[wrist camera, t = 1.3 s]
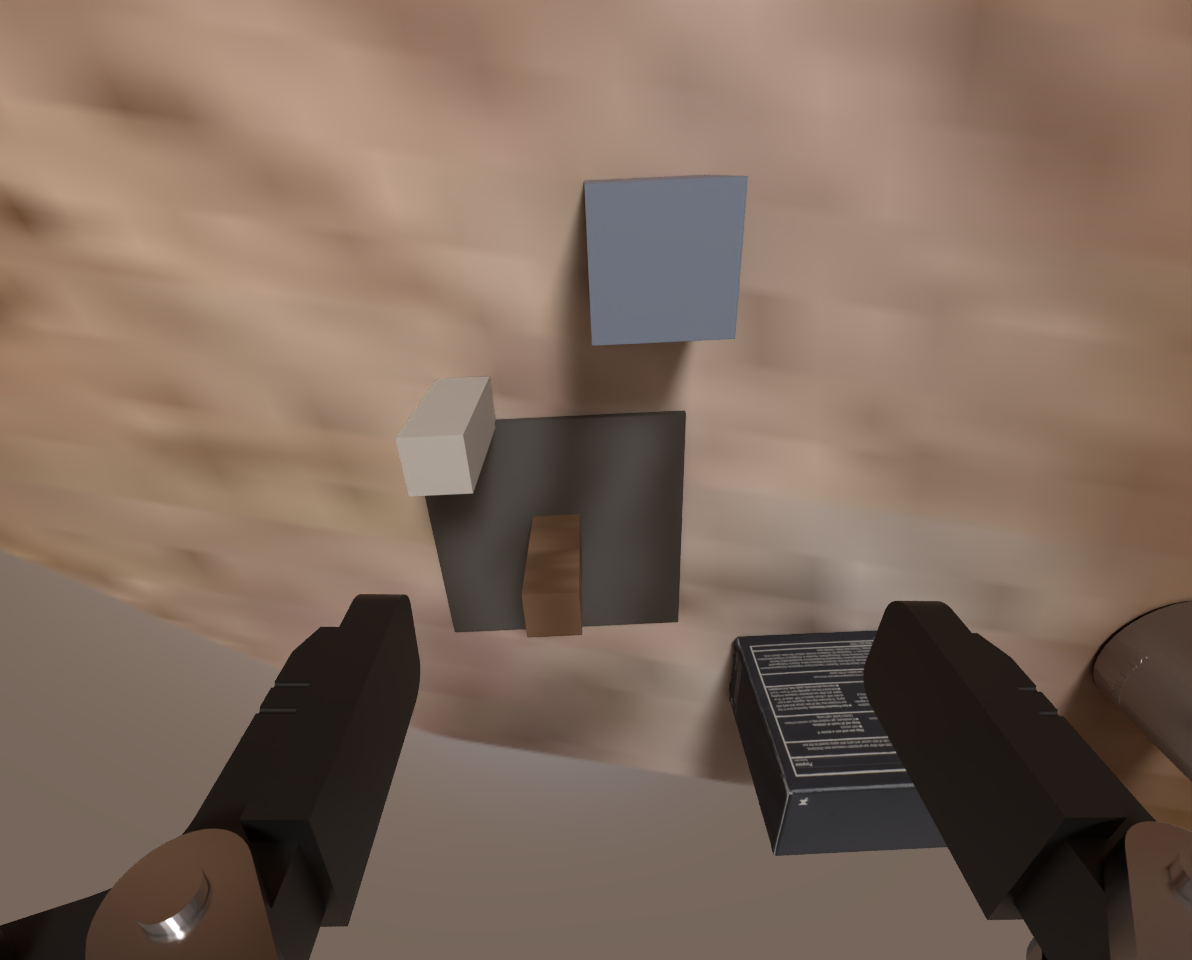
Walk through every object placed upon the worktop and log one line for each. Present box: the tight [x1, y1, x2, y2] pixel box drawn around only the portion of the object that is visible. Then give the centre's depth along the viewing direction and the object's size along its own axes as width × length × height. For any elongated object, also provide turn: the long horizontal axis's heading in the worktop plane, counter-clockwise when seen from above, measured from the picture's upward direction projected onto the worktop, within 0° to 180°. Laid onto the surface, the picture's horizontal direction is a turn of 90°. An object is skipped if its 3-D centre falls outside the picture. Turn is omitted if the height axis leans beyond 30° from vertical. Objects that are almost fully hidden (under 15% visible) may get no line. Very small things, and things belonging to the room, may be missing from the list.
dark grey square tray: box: [425, 411, 686, 637], centre depth 29 cm, size 14×14×7 cm
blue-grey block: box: [584, 175, 748, 346], centre depth 22 cm, size 5×5×7 cm
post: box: [395, 376, 496, 496], centre depth 25 cm, size 3×3×7 cm
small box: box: [729, 631, 947, 856], centre depth 33 cm, size 11×6×10 cm, turn 92°
